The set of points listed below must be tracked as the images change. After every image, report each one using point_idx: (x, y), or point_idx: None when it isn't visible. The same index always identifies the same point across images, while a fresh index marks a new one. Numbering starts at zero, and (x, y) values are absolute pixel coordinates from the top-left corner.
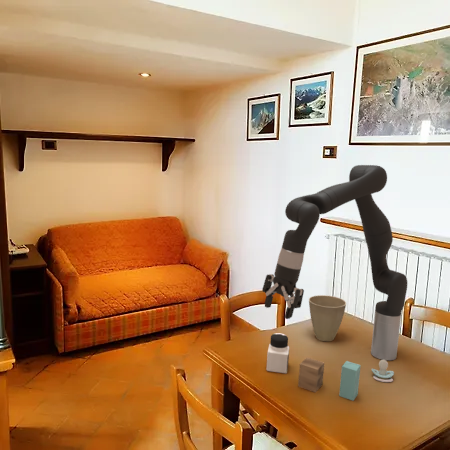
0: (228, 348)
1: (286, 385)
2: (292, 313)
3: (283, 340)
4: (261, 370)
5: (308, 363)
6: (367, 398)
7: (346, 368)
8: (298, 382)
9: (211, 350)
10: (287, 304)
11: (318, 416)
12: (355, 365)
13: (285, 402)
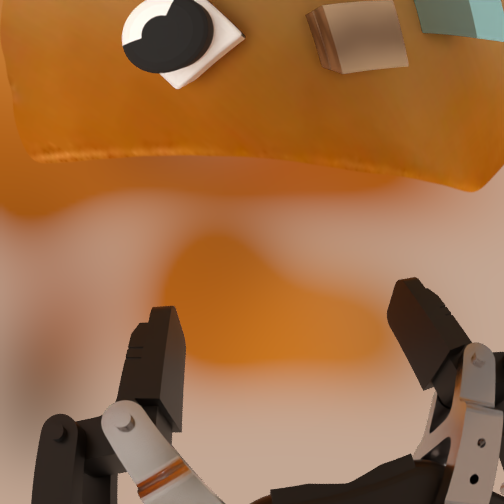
0: (40, 111)
1: (296, 89)
2: (449, 317)
3: (203, 38)
4: (182, 91)
5: (361, 47)
6: None
7: (487, 39)
8: (325, 67)
9: (39, 157)
10: (431, 412)
11: (429, 145)
12: (494, 8)
13: (349, 156)
